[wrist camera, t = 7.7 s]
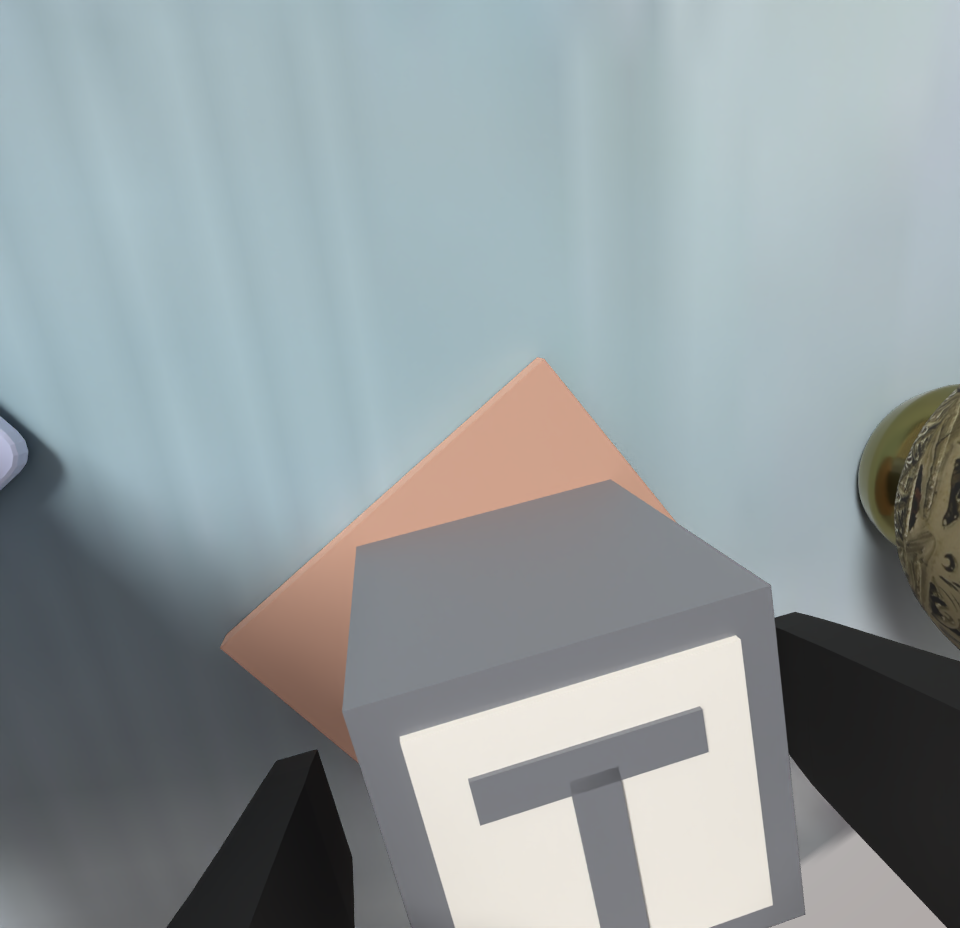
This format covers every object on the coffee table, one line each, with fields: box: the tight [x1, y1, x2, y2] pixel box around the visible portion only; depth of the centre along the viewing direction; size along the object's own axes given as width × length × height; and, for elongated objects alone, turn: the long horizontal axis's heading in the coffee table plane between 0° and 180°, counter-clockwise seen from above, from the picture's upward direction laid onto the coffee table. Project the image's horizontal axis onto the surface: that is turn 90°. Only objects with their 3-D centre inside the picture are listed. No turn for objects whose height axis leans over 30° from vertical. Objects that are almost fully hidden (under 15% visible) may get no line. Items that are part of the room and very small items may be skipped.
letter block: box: [342, 479, 805, 928], centre depth 10 cm, size 5×5×5 cm
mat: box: [220, 357, 676, 763], centre depth 13 cm, size 8×8×1 cm
